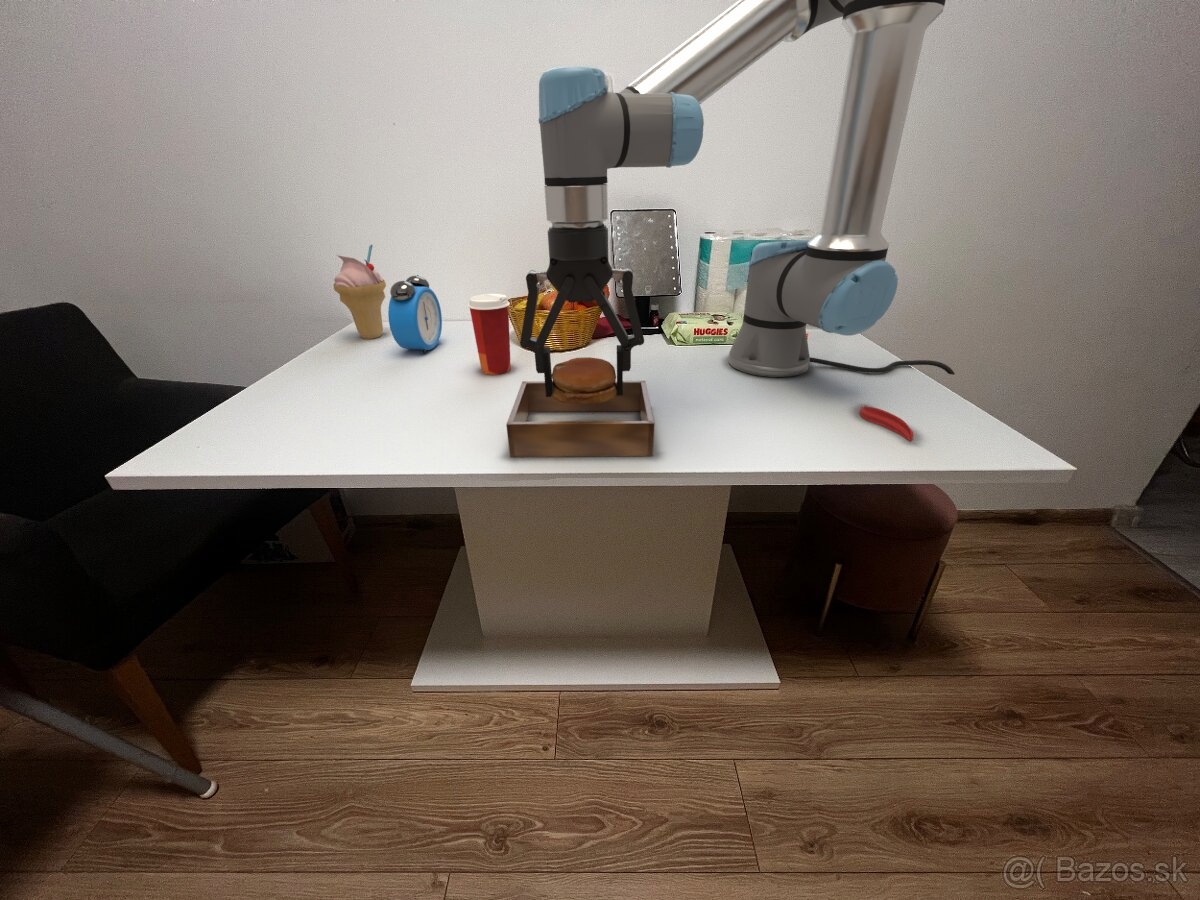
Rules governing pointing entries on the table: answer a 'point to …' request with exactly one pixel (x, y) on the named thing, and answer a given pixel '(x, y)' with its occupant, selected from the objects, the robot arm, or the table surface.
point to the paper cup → (491, 331)
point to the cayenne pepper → (886, 421)
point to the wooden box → (580, 425)
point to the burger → (584, 381)
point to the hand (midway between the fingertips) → (584, 392)
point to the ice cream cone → (362, 294)
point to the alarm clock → (414, 314)
